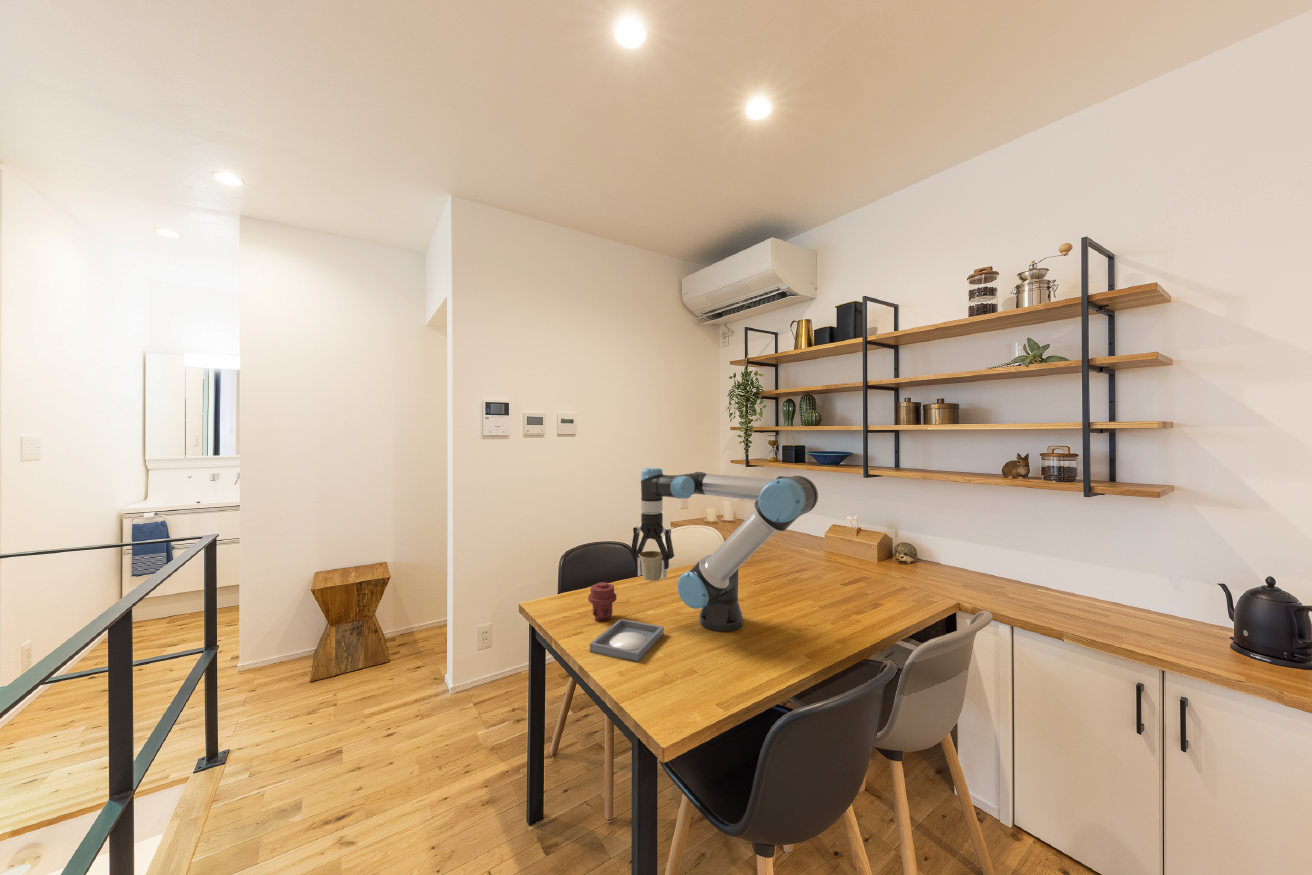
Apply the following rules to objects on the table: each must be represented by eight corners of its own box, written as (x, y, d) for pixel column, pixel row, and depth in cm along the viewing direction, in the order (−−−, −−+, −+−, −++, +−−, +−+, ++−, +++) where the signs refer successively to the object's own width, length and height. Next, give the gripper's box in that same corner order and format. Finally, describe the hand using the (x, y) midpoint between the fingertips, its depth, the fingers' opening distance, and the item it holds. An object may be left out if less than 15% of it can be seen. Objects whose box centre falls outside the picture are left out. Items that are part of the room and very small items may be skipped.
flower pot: (671, 578, 163) (670, 553, 163) (652, 584, 156) (652, 559, 156) (651, 572, 169) (651, 549, 169) (633, 578, 163) (633, 554, 162)
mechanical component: (592, 612, 171) (618, 613, 170) (585, 623, 161) (613, 624, 160) (592, 578, 170) (618, 579, 169) (585, 588, 161) (613, 589, 160)
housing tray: (663, 634, 152) (663, 626, 152) (637, 662, 134) (637, 653, 134) (620, 626, 158) (620, 618, 158) (589, 651, 140) (589, 643, 140)
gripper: (683, 512, 162) (684, 576, 162) (629, 508, 170) (629, 570, 170) (676, 516, 155) (676, 583, 155) (620, 511, 163) (620, 575, 163)
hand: (652, 576), depth 163 cm, fingers closed on flower pot, 8 cm apart
